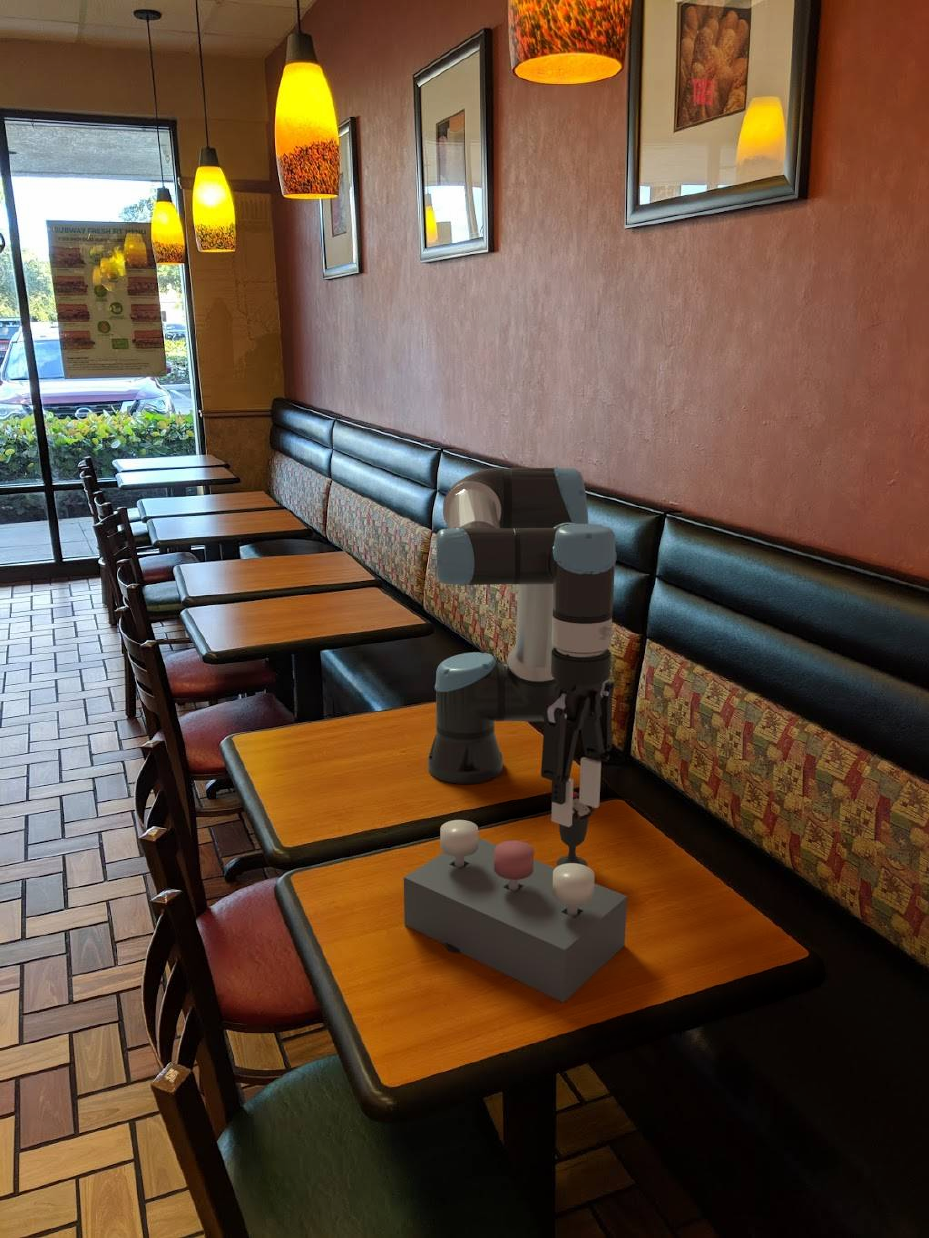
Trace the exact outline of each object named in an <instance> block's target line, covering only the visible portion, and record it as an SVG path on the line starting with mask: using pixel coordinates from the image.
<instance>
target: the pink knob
mask: <svg viewBox="0 0 929 1238" xmlns="http://www.w3.org/2000/svg"><path fill="white" fill-rule="evenodd" d="M496 845H497V846H496V847H495V849H494V871H495V873H496V874H497V875H498V876H500V877H502V878H505V879H509V890H510V891H513V892H517V891H518V880H519V879H524V878H527V877H529V876H530V875H531V874H532V873H533V863H534V860H535V858H534V856H535V855H534V853H535V852H534V851H535V850H534V848H533V846H532V845H530V843H527V842H524V841H520V840H506V841H502V842H500V843H498V844H496Z"/></svg>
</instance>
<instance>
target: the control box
mask: <svg viewBox="0 0 929 1238" xmlns="http://www.w3.org/2000/svg"><path fill="white" fill-rule="evenodd" d="M497 845H498V844H496V843H493V842H491V841H488V840H486V839H483V838H480V837H478V850H477V851H476V852H475V853H473V854H471V855H469V856H464V867H463V868H462V869H459V868H456V867H455V856H450V855H447V854H445V853H444V852H443V851H442V853H440V854H439V855H437V856H436V857H434V858H432V859H431V860H429V861H428V862H426V863H424V864H423V865H421V866H420V867H418V868H416V869H415V870H412V871H411V872H410V873H408V874H406V875H405V876H403V907H404V908H403V910H404V911H403V912H404V916H403V917H404V926H406V927H408V928H410V929H413V930H415V931H416V932H418V933H421V934H422V935H424V936H426V937H429V938H431V939H433V940H435V941H436V942H438V943H440V944H443V945H445V942H446V943H448V944H450V945H452V946H454V947H456V948H458V949H460V952H459V953H461V954H462V955H465V956H467V957H470V958H471V959H473V960H475V961H477V962H478V963H481V964H483V965H486V966H488V967H489V968H491V969H494V970H495V971H497V972H499V973H501V974H504V975H506V976H508V977H510V978H512V979H514V980H516V981H518V982H520V983H523V984H524V985H526V986H528V987H530V988H532V989H533V990H536V991H538V992H540V993H542V994H544V995H546V996H548V997H551V998H553V999H555V1000H556V1001H558V1002H561V1003H565V1001H567V1000H568V999H569V998H570V997H571V996H573V994H574V993H576V991H578V990H579V989H580V988H581V987H582V986H583V985H584V984H585V983H586V982H587V981H588V980H589V979H591V978H592V976H594V975H595V974H596V973H597V972H598V971H599V970H600V969H601V968H602V967H604V965H606V963H608V962H609V961H610V960H611V959H612V958H613V957H614V956H615V955H616V954H617V953H618V952H620V950H622V949H623V948H624V947H625V945H626V929H627V927H626V926H627V908H628V907H627V906H628V896H627V895H625V894H622V893H619V892H618V891H615V890H612V889H610V888H607V887H605V886H603V885H600V884H597V883H595V882H594V896H593V898H592V900H591V901H589V902H587V903H585V904H581V905H578V912H577V916H576V917H575V918H574V917H572V916H569V915H567V904H565V903H562V902H560V901H558V900H557V899H555V897H554V896H553V893H552V891H553V871H554V869H555V868H556V867H554V866H552V865H549V864H546V863H543V862H541V861H538V860H536V859H534V863H533V873H532V874H531V875H530V876H529V877H527V878H524V879H519V880H518V891H517V892H513V891H510V890H509V879H505V878H502V877H500V876H498V875H497V874H496V873H495V871H494V849H495V847H496V846H497ZM445 946H446V945H445Z"/></svg>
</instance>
